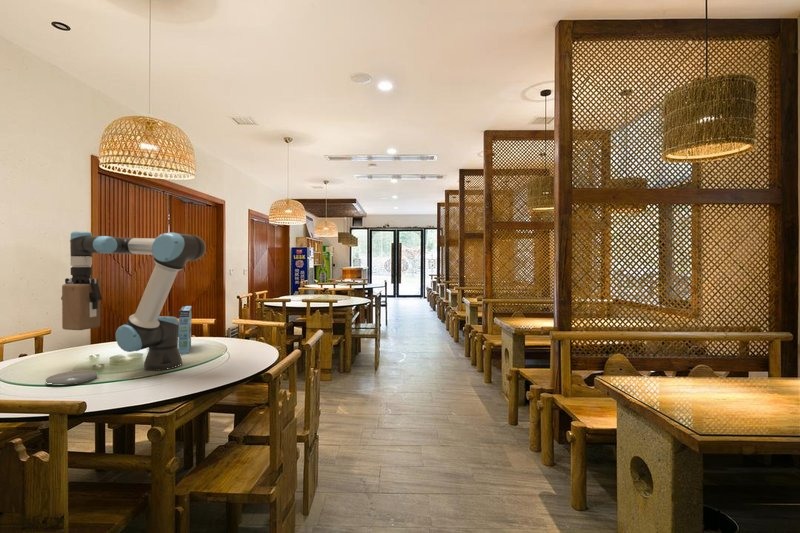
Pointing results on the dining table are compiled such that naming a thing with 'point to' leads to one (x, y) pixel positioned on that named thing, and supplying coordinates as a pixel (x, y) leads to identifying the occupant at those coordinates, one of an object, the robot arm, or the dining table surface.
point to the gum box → (184, 329)
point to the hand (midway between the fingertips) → (81, 316)
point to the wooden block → (78, 307)
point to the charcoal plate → (72, 377)
